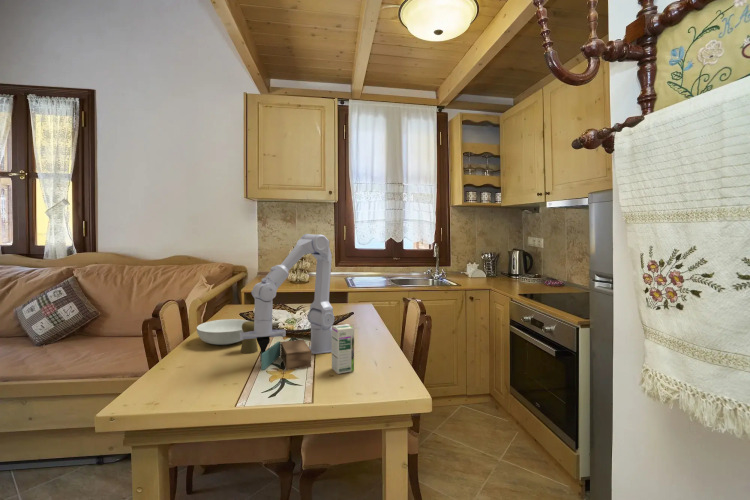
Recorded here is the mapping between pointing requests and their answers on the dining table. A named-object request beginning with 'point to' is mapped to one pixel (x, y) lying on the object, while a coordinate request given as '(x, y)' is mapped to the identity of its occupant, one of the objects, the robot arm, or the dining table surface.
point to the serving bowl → (221, 331)
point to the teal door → (270, 355)
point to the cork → (248, 344)
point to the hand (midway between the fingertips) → (262, 359)
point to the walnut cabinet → (295, 354)
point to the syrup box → (343, 348)
